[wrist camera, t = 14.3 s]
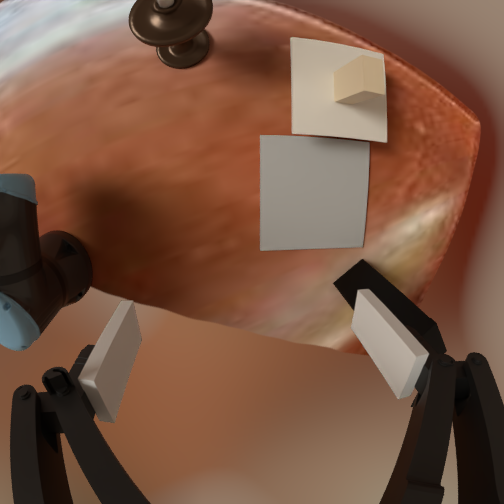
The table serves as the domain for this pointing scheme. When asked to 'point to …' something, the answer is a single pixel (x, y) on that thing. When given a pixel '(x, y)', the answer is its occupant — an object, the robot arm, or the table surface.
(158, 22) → the candlestick
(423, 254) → the table surface
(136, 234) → the table surface
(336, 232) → the mat
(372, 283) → the black block
